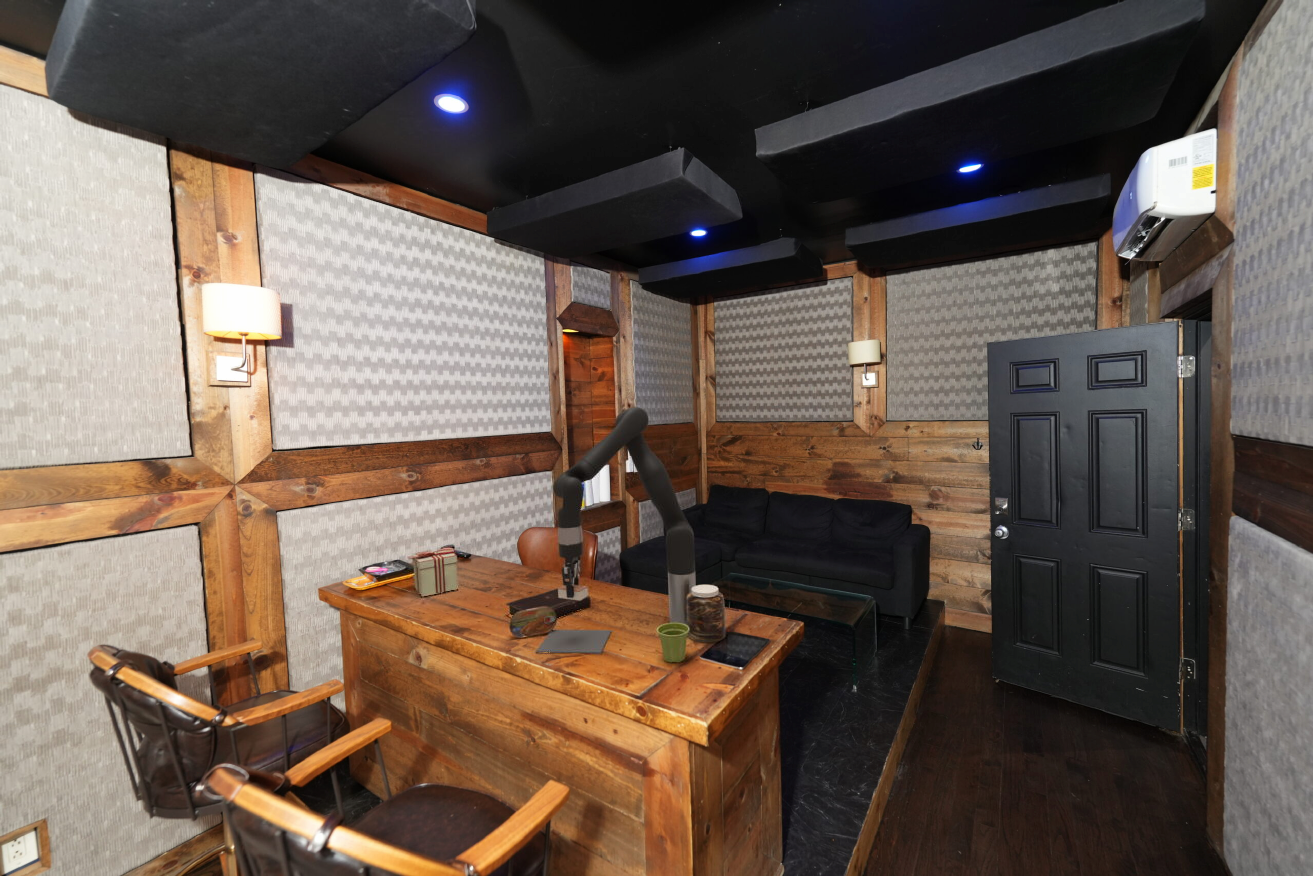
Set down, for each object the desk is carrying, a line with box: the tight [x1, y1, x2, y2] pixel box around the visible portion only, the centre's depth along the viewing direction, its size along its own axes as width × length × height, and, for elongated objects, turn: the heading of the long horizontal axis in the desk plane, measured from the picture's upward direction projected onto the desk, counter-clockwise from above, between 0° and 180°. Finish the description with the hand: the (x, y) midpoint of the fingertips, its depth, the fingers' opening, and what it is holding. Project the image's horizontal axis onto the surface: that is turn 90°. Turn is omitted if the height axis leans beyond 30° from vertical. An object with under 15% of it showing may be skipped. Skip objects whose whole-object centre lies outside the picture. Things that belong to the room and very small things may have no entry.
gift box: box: [407, 546, 459, 596], centre depth 224 cm, size 17×18×17 cm
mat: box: [535, 629, 612, 655], centre depth 166 cm, size 20×16×1 cm
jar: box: [687, 584, 727, 644], centre depth 167 cm, size 12×12×15 cm
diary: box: [505, 588, 592, 619], centre depth 194 cm, size 19×25×5 cm
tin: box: [508, 606, 558, 639], centre depth 173 cm, size 15×3×8 cm, turn 106°
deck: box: [557, 584, 589, 600], centre depth 165 cm, size 4×8×3 cm, turn 65°
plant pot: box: [656, 622, 689, 664], centre depth 152 cm, size 9×9×9 cm
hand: (573, 593), depth 165 cm, fingers closed on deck, 5 cm apart
